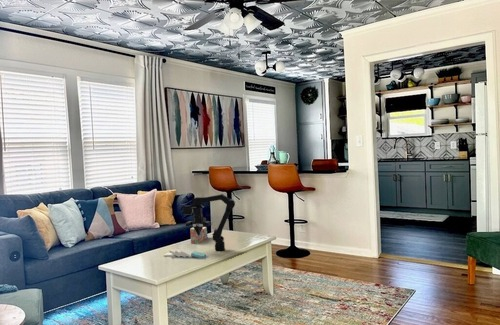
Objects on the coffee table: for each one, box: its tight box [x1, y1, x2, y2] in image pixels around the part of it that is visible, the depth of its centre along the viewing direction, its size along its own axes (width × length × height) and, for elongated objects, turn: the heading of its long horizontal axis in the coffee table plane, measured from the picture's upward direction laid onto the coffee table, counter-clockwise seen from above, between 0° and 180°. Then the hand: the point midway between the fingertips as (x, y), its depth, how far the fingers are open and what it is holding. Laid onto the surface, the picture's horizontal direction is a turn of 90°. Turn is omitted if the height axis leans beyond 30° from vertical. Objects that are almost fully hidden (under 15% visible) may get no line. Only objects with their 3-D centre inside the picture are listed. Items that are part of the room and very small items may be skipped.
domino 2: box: [168, 248, 181, 257], centre depth 271 cm, size 2×5×9 cm
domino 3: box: [175, 248, 187, 258], centre depth 269 cm, size 2×5×9 cm
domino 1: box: [163, 252, 176, 258], centre depth 272 cm, size 2×5×9 cm
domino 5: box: [191, 251, 207, 258], centre depth 264 cm, size 2×5×9 cm
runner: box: [171, 254, 211, 261], centre depth 266 cm, size 26×10×1 cm, turn 68°
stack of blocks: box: [189, 227, 208, 245], centre depth 318 cm, size 21×6×12 cm, turn 165°
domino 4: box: [180, 248, 194, 258], centre depth 267 cm, size 2×5×9 cm
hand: (199, 235), depth 280 cm, fingers closed
